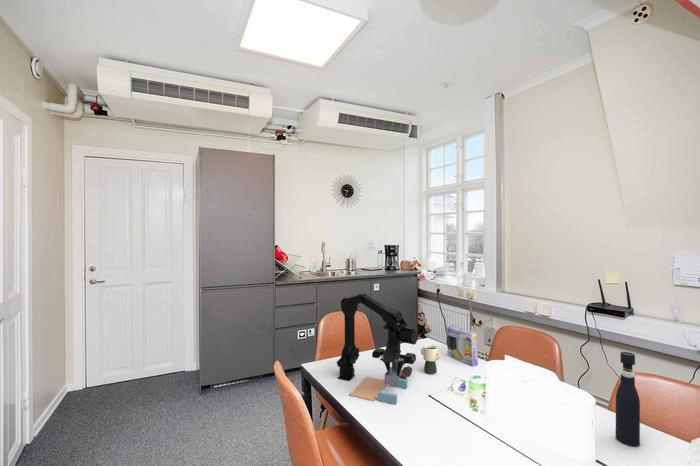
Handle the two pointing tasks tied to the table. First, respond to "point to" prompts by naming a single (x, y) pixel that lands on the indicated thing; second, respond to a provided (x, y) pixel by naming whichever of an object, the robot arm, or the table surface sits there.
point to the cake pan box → (462, 345)
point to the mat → (369, 389)
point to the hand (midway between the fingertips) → (393, 374)
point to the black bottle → (627, 405)
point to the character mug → (430, 358)
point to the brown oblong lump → (406, 372)
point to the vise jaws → (392, 397)
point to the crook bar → (392, 374)
